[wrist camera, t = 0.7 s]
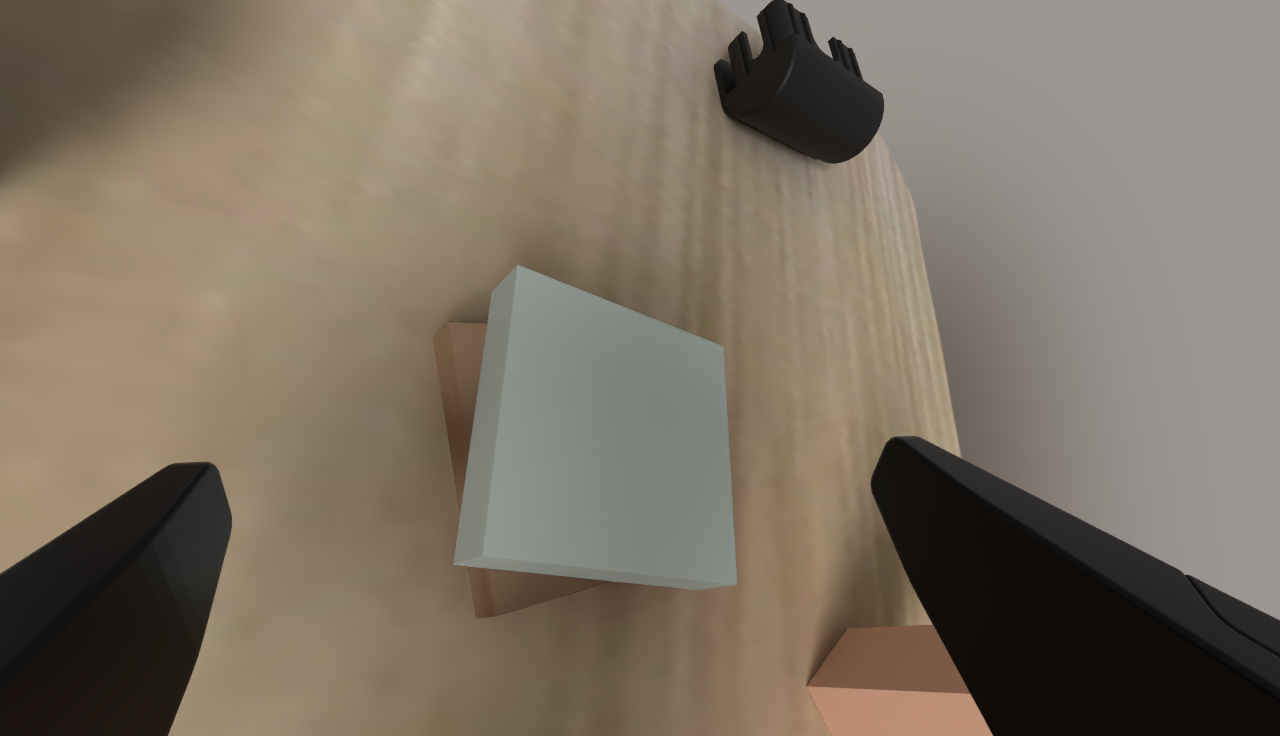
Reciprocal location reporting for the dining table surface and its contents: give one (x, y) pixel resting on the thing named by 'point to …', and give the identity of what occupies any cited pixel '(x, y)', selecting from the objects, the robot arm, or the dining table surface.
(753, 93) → the end cap
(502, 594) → the slab lower
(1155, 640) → the robot arm
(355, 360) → the dining table surface
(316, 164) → the dining table surface
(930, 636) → the terracotta block
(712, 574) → the slab upper
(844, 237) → the dining table surface
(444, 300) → the dining table surface
